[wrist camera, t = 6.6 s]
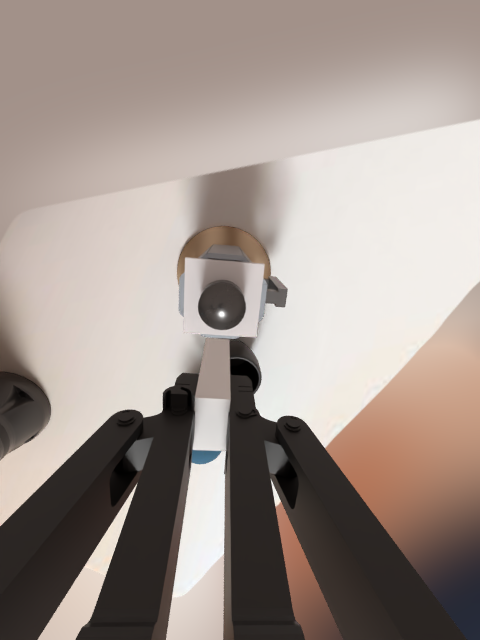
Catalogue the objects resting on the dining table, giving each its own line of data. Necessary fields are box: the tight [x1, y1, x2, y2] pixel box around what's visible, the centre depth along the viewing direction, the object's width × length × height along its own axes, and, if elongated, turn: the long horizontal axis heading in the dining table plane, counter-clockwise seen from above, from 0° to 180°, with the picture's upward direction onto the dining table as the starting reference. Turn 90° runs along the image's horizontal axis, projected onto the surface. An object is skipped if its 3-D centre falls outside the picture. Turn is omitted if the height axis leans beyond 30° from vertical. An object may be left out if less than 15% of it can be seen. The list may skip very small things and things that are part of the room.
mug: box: [229, 340, 261, 394], centre depth 49 cm, size 8×12×10 cm
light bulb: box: [192, 449, 221, 464], centre depth 52 cm, size 8×8×12 cm
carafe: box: [179, 244, 288, 339], centre depth 40 cm, size 13×10×17 cm
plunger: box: [198, 259, 246, 330], centre depth 35 cm, size 8×8×12 cm
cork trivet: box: [177, 226, 271, 284], centre depth 48 cm, size 16×16×1 cm
